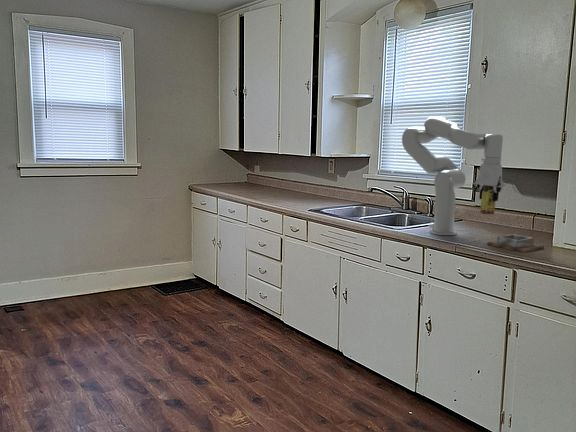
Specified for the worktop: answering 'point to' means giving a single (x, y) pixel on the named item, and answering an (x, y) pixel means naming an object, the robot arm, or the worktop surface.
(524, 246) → the condiment board
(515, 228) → the worktop surface
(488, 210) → the sauce bottle
